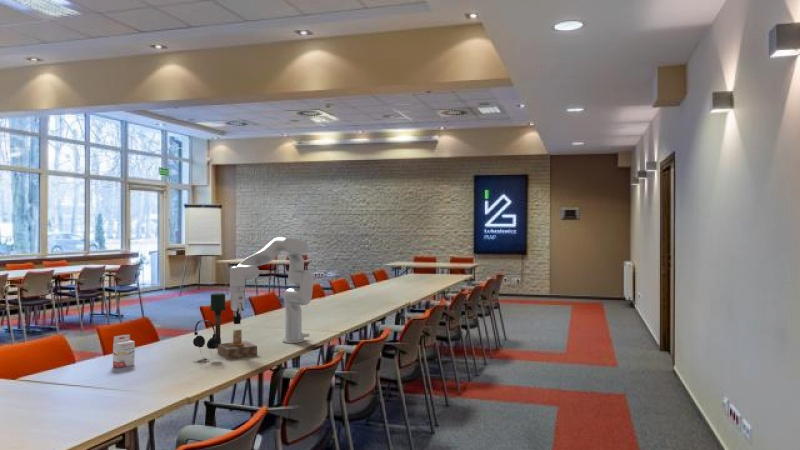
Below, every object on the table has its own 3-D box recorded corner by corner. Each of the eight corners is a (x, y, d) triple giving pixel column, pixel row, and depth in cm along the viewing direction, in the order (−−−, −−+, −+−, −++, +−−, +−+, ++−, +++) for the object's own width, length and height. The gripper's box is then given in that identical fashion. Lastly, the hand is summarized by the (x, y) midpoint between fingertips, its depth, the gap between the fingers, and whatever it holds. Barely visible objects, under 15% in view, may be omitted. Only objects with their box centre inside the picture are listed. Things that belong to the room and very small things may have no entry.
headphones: (182, 360, 290) (182, 321, 290) (199, 356, 300) (200, 318, 300) (204, 363, 283) (204, 323, 283) (221, 359, 293) (221, 320, 293)
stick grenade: (228, 345, 326) (228, 293, 326) (222, 348, 317) (222, 295, 317) (213, 345, 327) (214, 293, 327) (207, 348, 318) (207, 294, 318)
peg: (241, 351, 308) (241, 328, 308) (245, 354, 303) (245, 330, 303) (229, 353, 305) (229, 329, 305) (233, 355, 299) (233, 331, 299)
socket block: (246, 349, 315) (246, 340, 315) (257, 355, 302) (257, 345, 302) (217, 353, 306) (217, 344, 306) (227, 359, 293) (227, 349, 293)
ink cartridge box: (118, 368, 274) (118, 337, 274) (112, 366, 277) (112, 336, 277) (135, 364, 281) (135, 334, 281) (129, 363, 284) (129, 333, 284)
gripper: (249, 290, 300) (248, 325, 300) (239, 287, 312) (239, 321, 312) (235, 291, 296) (234, 326, 295) (225, 288, 308) (225, 322, 308)
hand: (237, 323), depth 304 cm, fingers closed
